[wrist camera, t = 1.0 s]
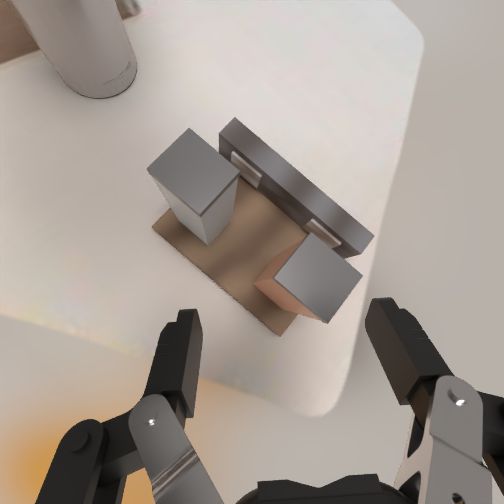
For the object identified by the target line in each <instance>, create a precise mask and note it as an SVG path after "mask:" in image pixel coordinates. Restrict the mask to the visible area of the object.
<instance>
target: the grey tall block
mask: <svg viewBox="0 0 504 504" xmlns="http://www.w3.org/2000/svg"><path fill="white" fill-rule="evenodd" d="M147 171H148V172H149V174H150V175H151V176H152V177H153V179H154V181H155V182H156V184H157V186H158V187H159V189H160V191H161V192H162V194H163V196H164V197H165V199H166V201H167V202H168V204H169V206H170V207H171V209H172V211H173V212H174V214H175V216H176V217H177V219H178V221H180V222H181V223H182V224H183V225H184V226H186V227H187V228H188V229H189V230H190V231H191V232H193V233H194V234H195V235H196V236H197V237H198V238H200V239H201V240H202V241H203V242H204V243H205V244H207V245H208V246H209V245H210V244H211V243H212V242H213V241H214V239H215V238H216V237H217V236H218V235H219V234H220V233H221V232H222V231H223V229H224V228H225V227H226V226H227V225H228V224H229V223H230V222H231V221H232V215H233V208H234V202H235V195H236V188H237V182H238V177H239V175H240V171H239V170H238V169H237V168H236V167H235V166H234V165H232V164H231V163H230V162H229V161H228V160H226V159H225V158H224V157H223V156H222V155H221V154H219V153H218V152H217V151H216V150H215V149H214V148H212V147H211V146H210V145H209V144H208V143H206V142H205V141H204V140H203V139H202V138H201V137H199V136H198V135H197V134H196V133H195V132H194V131H192V130H191V129H190V128H188V129H187V130H186V131H185V132H184V133H183V134H182V135H181V136H180V137H179V138H178V139H177V140H176V141H175V142H174V143H173V144H172V145H171V146H170V147H169V148H168V149H166V150H165V151H164V152H163V153H162V154H161V155H160V156H159V157H158V158H157V159H156V160H155V161H154V162H153V163H152V164H151V165H150V166H149V167H148V168H147Z"/></svg>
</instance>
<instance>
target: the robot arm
mask: <svg viewBox="0 0 504 504" xmlns="http://www.w3.org/2000/svg"><path fill="white" fill-rule="evenodd" d="M4 1H5V2H6V3H7V5H8V6H9V7H10V9H11V10H12V11H13V13H14V14H15V15H16V17H17V18H18V19H19V21H20V22H21V23H22V25H23V26H24V27H25V29H26V30H27V31H28V33H29V34H30V36H31V37H32V38H33V40H34V41H35V42H36V44H37V45H38V46H39V48H40V49H41V50H42V52H43V53H44V55H45V56H46V57H47V59H48V60H49V61H50V63H51V64H52V65H53V67H54V68H55V69H56V71H57V72H58V73H59V75H60V76H61V77H62V79H63V80H64V81H65V83H66V84H67V85H68V86H69V87H70V88H71V89H73V90H74V91H76V92H77V93H79V94H81V95H84V96H87V97H93V98H106V97H111V96H114V95H116V94H119V93H121V92H122V91H123V90H125V89H126V88H127V87H128V86H129V85H130V84H131V83H132V81H133V79H134V77H135V74H136V71H137V63H136V58H135V55H134V52H133V50H132V47H131V44H130V41H129V39H128V36H127V33H126V30H125V27H124V24H123V22H122V19H121V16H120V14H119V11H118V8H117V5H116V3H115V0H4ZM365 328H366V332H367V334H368V336H369V338H370V341H371V343H372V345H373V347H374V349H375V351H376V354H377V356H378V358H379V360H380V362H381V365H382V367H383V369H384V371H385V373H386V376H387V378H388V380H389V382H390V384H391V387H392V389H393V391H394V393H395V395H396V397H397V400H398V402H399V404H400V405H411V407H412V409H413V411H414V412H413V413H412V417H411V422H410V426H409V431H408V437H407V442H406V446H405V451H404V456H403V460H402V463H401V465H400V467H399V470H398V472H397V475H396V479H395V482H394V487H391V486H390V485H387V484H385V483H382V482H379V478H378V475H377V474H364V475H349V476H346V477H344V478H342V479H339V480H337V481H334V482H332V483H330V484H328V485H326V486H323V487H321V488H316V487H312V486H309V485H305V484H301V483H298V482H294V481H290V480H274V481H260V482H258V488H257V489H255V490H253V491H251V492H249V493H248V494H246V495H245V496H244V497H242V498H241V499H240V500H239V501H238V502H237V503H236V504H492V477H491V474H492V476H493V477H494V479H495V481H496V483H497V485H498V487H499V488H500V490H501V492H502V494H503V496H504V398H503V397H499V396H495V395H490V394H486V393H482V392H479V391H476V390H475V389H474V388H473V387H472V386H471V385H470V384H468V383H467V382H465V381H464V380H462V379H460V378H457V377H455V376H454V375H453V373H452V372H451V370H450V369H449V368H448V366H447V364H446V363H445V362H444V360H443V358H442V357H441V355H440V354H439V352H438V351H437V349H436V348H435V346H434V345H433V343H432V342H431V340H430V339H428V336H427V334H426V333H425V331H424V330H422V327H421V325H420V324H419V322H418V321H417V319H416V318H415V317H414V316H413V315H412V314H411V313H409V312H408V311H407V310H406V309H399V307H398V306H397V304H396V303H395V301H394V300H393V299H392V298H389V297H388V298H374V299H372V301H371V304H370V307H369V310H368V313H367V316H366V319H365ZM202 341H203V333H202V327H201V323H200V319H199V315H198V311H197V309H183V310H179V312H178V317H177V321H176V322H168V323H167V325H166V326H165V327H164V329H163V330H162V331H161V333H160V337H159V341H158V346H157V348H156V352H155V356H154V359H153V363H152V366H151V370H150V374H149V377H148V381H147V385H146V388H145V391H144V394H143V396H142V398H141V399H140V401H139V402H138V403H137V404H136V405H135V406H134V407H133V408H132V409H131V410H129V411H128V412H126V413H124V414H122V415H120V416H117V417H115V418H112V419H110V420H108V421H105V422H102V423H100V422H98V421H97V420H94V419H87V420H84V421H81V422H79V423H77V424H76V425H75V426H73V427H72V428H71V429H70V430H69V431H68V432H67V433H66V434H65V435H64V437H63V438H62V440H61V441H60V443H59V445H58V448H57V450H56V453H55V455H54V458H53V461H52V463H51V466H50V468H49V470H48V473H47V475H46V478H45V480H44V483H43V485H42V488H41V490H40V493H39V495H38V498H37V500H36V503H35V504H121V502H122V497H123V492H124V488H125V483H126V478H127V475H129V474H131V473H133V472H135V471H137V470H140V469H142V468H144V467H145V469H146V471H147V474H148V476H149V478H150V481H151V484H152V492H153V497H154V499H155V502H156V504H224V502H223V501H222V499H221V497H220V495H219V493H218V492H217V490H216V488H215V486H214V484H213V482H212V481H211V479H210V477H209V475H208V473H207V472H206V470H205V468H204V466H203V464H202V463H201V461H200V459H199V457H198V455H197V453H196V452H195V450H194V448H193V446H192V445H191V443H190V441H189V439H188V437H187V436H186V434H185V432H184V427H185V420H186V418H193V416H194V408H195V399H196V391H197V383H198V375H199V366H200V358H201V350H202ZM482 457H483V459H484V461H485V463H486V465H487V467H488V468H489V469H488V468H487V467H486V466H484V464H483V462H482ZM490 472H491V473H490Z"/></svg>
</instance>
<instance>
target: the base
mask: <svg viewBox="0 0 504 504" xmlns="http://www.w3.org/2000/svg"><path fill="white" fill-rule="evenodd" d="M219 154H221V155H222V156H223V157H224V158H225V159H226V160H228V161H229V162H230V163H231V164H232V165H234V166H235V167H236V168H237V169H238V170H239V171H240V175H239V177H238V182H237V188H236V195H235V202H234V208H233V215H232V221H231V222H230V223H229V224H228V225H227V226H226V227H225V228H224V229H223V231H222V232H221V233H220V234H219V235H218V236H217V237H216V238H215V239H214V241H213V242H212V243H211V244H210V245H209V246H208V245H207V244H205V243H204V242H203V241H202V240H201V239H200V238H198V237H197V236H196V235H195V234H194V233H193V232H191V231H190V230H189V229H188V228H187V227H186V226H184V225H183V224H182V223H181V222H180V221H178V219H177V217H176V216H175V214H174V212H173V211H172V209H171V207H170V209H169V210H168V211H167V212H166V213H165V214H164V215H163V216H162V217H161V218H160V219H159V220H158V221H157V222H156V223H155V224H154V225H153V226H152V228H153V229H154V230H155V231H156V232H158V233H159V234H160V235H161V236H162V237H163V238H165V239H166V240H167V241H168V242H169V243H170V244H172V245H173V246H174V247H175V248H176V249H178V250H179V251H180V252H181V253H182V254H183V255H185V256H186V257H187V258H188V259H189V260H190V261H192V262H193V263H194V264H195V265H196V266H197V267H199V268H200V269H201V270H202V271H203V272H204V273H206V274H207V275H208V276H209V277H210V278H211V279H213V280H214V281H215V282H216V283H217V284H218V285H220V286H221V287H222V288H223V289H224V290H225V291H227V292H228V293H229V294H230V295H231V296H232V297H234V298H235V299H236V300H237V301H238V302H239V303H241V304H242V305H243V306H244V307H245V308H246V309H248V310H249V311H250V312H251V313H252V314H253V315H255V316H256V317H257V318H258V319H259V320H261V321H262V322H263V323H264V324H265V325H266V326H268V327H269V328H270V329H271V330H272V331H273V332H275V333H276V334H277V335H278V336H279V337H281V335H282V334H283V333H284V331H285V330H286V329H287V328H288V326H289V325H290V324H291V322H292V321H293V320H294V318H295V317H296V316H297V314H296V313H293V312H290V311H286V310H283V309H281V308H280V307H279V306H278V305H277V304H276V303H274V302H273V301H272V300H271V299H270V298H269V297H267V296H266V295H265V294H264V293H263V292H262V291H260V290H259V289H258V288H257V287H256V286H255V285H253V284H252V283H253V282H254V281H255V280H256V278H257V277H258V276H259V275H260V274H261V272H262V271H263V270H264V269H265V268H266V266H267V265H268V264H269V263H270V262H271V260H272V259H273V258H274V257H275V256H277V255H278V254H280V253H281V252H283V251H284V250H286V249H287V248H289V247H291V246H292V245H294V244H295V243H297V242H298V241H300V240H301V239H303V238H304V237H306V236H307V235H308V234H309V233H311V232H312V233H313V234H315V235H316V236H317V237H318V238H319V239H320V240H322V241H323V242H324V243H325V244H326V245H328V246H329V247H330V248H331V249H332V250H333V251H335V252H336V253H337V254H338V255H339V256H340V257H342V258H343V259H344V258H348V257H352V256H356V255H359V254H362V252H363V251H364V250H365V248H366V247H367V246H368V244H369V243H370V242H371V240H372V239H373V238H374V235H373V234H372V233H371V232H370V231H368V230H367V229H366V228H365V227H364V226H362V225H361V224H360V223H359V222H358V221H357V220H355V219H354V218H353V217H352V216H351V215H349V214H348V213H347V212H346V211H345V210H344V209H342V208H341V207H340V206H339V205H338V204H337V203H335V202H334V201H333V200H332V199H331V198H329V197H328V196H327V195H326V194H325V193H324V192H322V191H321V190H320V189H319V188H318V187H317V186H315V185H314V184H313V183H312V182H311V181H309V180H308V179H307V178H306V177H305V176H304V175H302V174H301V173H300V172H299V171H298V170H296V169H295V168H294V167H293V166H292V165H291V164H289V163H288V162H287V161H286V160H285V159H284V158H282V157H281V156H280V155H279V154H278V153H276V152H275V151H274V150H273V149H272V148H271V147H269V146H268V145H267V144H266V143H265V142H264V141H262V140H261V139H260V138H259V137H258V136H256V135H255V134H254V133H253V132H252V131H251V130H249V129H248V128H247V127H246V126H245V125H243V124H242V123H241V122H240V121H239V120H238V119H236V118H234V119H233V120H232V121H231V122H230V123H229V124H228V125H227V126H226V127H225V128H224V129H223V130H222V131H221V132H220V133H219Z"/></svg>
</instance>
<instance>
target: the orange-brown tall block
mask: <svg viewBox="0 0 504 504" xmlns="http://www.w3.org/2000/svg"><path fill="white" fill-rule="evenodd" d="M362 276H363V275H362V274H360V273H359V272H358V271H357V270H356V269H355V268H353V267H352V266H351V265H350V264H349V263H348V262H346V261H345V260H344V259H343V258H342V257H340V256H339V255H338V254H337V253H336V252H335V251H333V250H332V249H331V248H330V247H329V246H328V245H326V244H325V243H324V242H323V241H322V240H320V239H319V238H318V237H317V236H316V235H315V234H313V233H312V232H311V233H309V234H308V235H307V236H306V237H304V238H303V239H301V240H300V241H298V242H297V243H295V244H294V245H292V246H291V247H289V248H287V249H286V250H284V251H283V252H281V253H280V254H278V255H277V256H275V257H274V258H273V259H272V260H271V262H270V263H269V264H268V265H267V266H266V268H265V269H264V270H263V271H262V272H261V274H260V275H259V276H258V277H257V278H256V280H255V281H254V282H253V283H252V284H253V285H255V286H256V287H257V288H258V289H259V290H260V291H262V292H263V293H264V294H265V295H266V296H267V297H269V298H270V299H271V300H272V301H273V302H274V303H276V304H277V305H278V306H279V307H280V308H281V309H283V310H286V311H290V312H293V313H296V314H300V315H303V316H307V317H310V318H314V319H317V320H320V321H322V322H324V323H327V324H328V323H329V321H330V320H331V319H332V317H333V316H334V315H335V313H336V312H337V310H338V309H339V308H340V306H341V305H342V304H343V302H344V301H345V300H346V298H347V297H348V295H349V294H350V293H351V291H352V290H353V289H354V287H355V286H356V285H357V283H358V282H359V281H360V279H361V278H362Z"/></svg>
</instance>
